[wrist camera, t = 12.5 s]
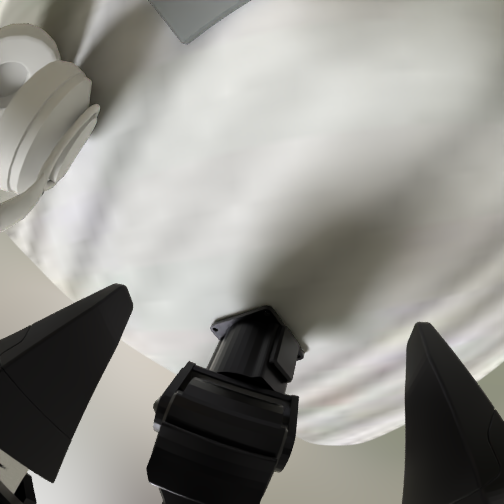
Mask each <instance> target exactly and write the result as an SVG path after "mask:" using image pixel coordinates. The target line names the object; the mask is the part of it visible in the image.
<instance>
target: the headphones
mask: <svg viewBox="0 0 504 504" xmlns="http://www.w3.org/2000/svg"><path fill="white" fill-rule="evenodd" d="M85 76H86V74H85V73H84V72H83V71H82V70H81V69H80V68H79V67H78V66H76V65H75V64H74V63H72V62H67V61H62V60H61V56H60V53H59V51H58V48H57V45H56V43H55V42H54V40H53V39H52V38H51V37H50V36H49V35H48V34H47V33H46V32H45V31H44V30H43V29H42V28H40V27H37V26H34V25H32V24H29V23H24V24H10V25H8V26H5V27H2V28H0V189H1V190H4V191H7V192H13V193H14V192H15V193H17V194H19V195H17V196H15V197H13V198H11V199H9V200H7V201H5V202H3V203H1V204H0V232H2V231H4V230H6V229H8V228H10V227H11V226H13V225H14V224H16V223H18V222H19V221H21V220H23V219H24V218H25V217H26V215H27V214H28V213H29V212H30V211H31V210H32V209H33V208H34V206H35V205H36V204H37V202H38V201H39V199H40V197H41V196H42V195H43V193H44V191H47V190H49V189H51V188H53V187H54V186H55V185H56V184H57V182H58V181H59V180H60V179H61V178H62V177H64V175H65V174H66V172H67V171H68V170H69V168H70V166H71V164H72V163H73V161H74V159H75V158H76V156H77V155H78V153H79V152H80V150H81V148H82V147H83V145H84V144H85V143H86V141H87V140H88V138H89V136H90V135H91V133H92V131H93V129H94V127H95V125H96V123H97V116H98V114H99V111H100V106H99V105H98V104H94V105H92V106H90V107H89V102H90V93H91V85H92V81H91V80H90V79H89V78H87V77H85ZM48 178H49V179H50V180H48Z"/></svg>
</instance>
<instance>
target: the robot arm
mask: <svg viewBox="0 0 504 504" xmlns="http://www.w3.org/2000/svg"><path fill="white" fill-rule="evenodd" d="M132 310H133V302H132V300H131V297H130V294H129V291H128V289H127V287H126V286H125V285H122V284H117V283H115V284H112V285H110V286H108V287H106V288H104V289H102V290H100V291H98V292H96V293H94V294H92V295H90V296H88V297H86V298H84V299H81V300H79V301H77V302H75V303H73V304H71V305H70V306H68V307H65V308H63V309H61V310H59V311H57V312H55V313H53V314H51V315H49V316H48V317H46V318H44V319H42V320H40V321H38V322H36V323H34V324H32V325H30V326H28V327H26V328H24V329H22V330H20V331H18V332H16V333H14V334H12V335H10V336H8V337H6V338H3V339H1V340H0V504H36V498H35V493H34V488H33V483H32V477H31V476H30V475H29V474H28V473H27V471H28V469H30V470H31V471H33V472H34V473H36V474H38V475H39V476H41V477H43V478H44V479H46V480H48V481H49V482H51V483H54V481H55V479H56V477H57V474H58V472H59V469H60V467H61V464H62V462H63V459H64V457H65V455H66V452H67V450H68V447H69V445H70V443H71V439H72V438H73V435H74V433H75V431H76V429H77V426H78V424H79V422H80V420H81V418H82V416H83V413H84V411H85V409H86V407H87V405H88V403H89V401H90V399H91V397H92V395H93V393H94V391H95V388H96V386H97V384H98V383H99V381H100V379H101V377H102V374H103V373H104V371H105V369H106V367H107V365H108V363H109V361H110V359H111V357H112V355H113V353H114V352H115V349H116V347H117V345H118V343H119V341H120V338H121V336H122V334H123V331H124V329H125V327H126V324H127V322H128V320H129V317H130V315H131V313H132ZM265 311H267V312H269V313H266V312H265ZM210 329H211V331H212V332H213V333H214V334H215V336H216V337H217V338H218V339H219V340H220V341H219V343H218V345H217V347H216V349H215V351H214V353H213V356H212V358H211V360H210V362H209V364H208V366H207V368H206V369H205V368H203V367H200V366H197V365H196V364H195V363H193V362H190V361H189V362H188V363H187V364H186V366H185V367H184V368H182V369H181V370H180V371H179V373H178V374H177V376H176V377H175V378H174V380H173V381H172V382H171V384H170V385H169V386H168V388H167V389H166V390H165V392H164V393H163V395H162V396H161V397H160V398H159V399H157V400H156V401H155V403H154V406H153V409H154V411H155V413H156V414H155V419H154V426H153V427H154V431H156V432H158V435H157V439H156V442H155V445H154V448H153V451H152V455H151V458H150V460H149V463H148V465H147V475H148V480H149V483H151V484H153V485H155V486H157V487H159V490H160V493H161V496H162V498H163V502H162V504H260V501H261V498H262V497H263V495H264V493H265V491H266V489H267V486H268V484H269V482H270V480H271V477H272V475H273V473H274V472H281V471H282V470H283V469H284V467H285V465H286V463H287V462H288V459H289V457H290V454H291V451H292V448H293V445H294V441H295V436H296V427H297V415H298V402H299V396H295V395H287V394H285V391H286V387H287V383H289V382H291V381H292V379H293V375H294V370H295V365H296V361H298V360H301V359H303V357H304V352H303V350H302V349H301V347H300V346H299V343H298V342H297V340H296V339H295V337H294V336H293V335H292V333H291V332H290V330H289V329H288V328H287V326H285V325H284V324H283V322H282V321H281V320H280V318H279V317H278V315H277V314H276V312H275V311H274V310H273V308H272V307H270V306H264V307H261V308H258V309H255V310H252V311H249V312H246V313H243V314H240V315H237V316H234V317H231V318H227V319H224V320H221V321H218V322H215V323H213V324H212V325H211V327H210ZM405 428H406V430H405V432H406V433H405V471H404V488H403V498H402V504H504V421H503V420H502V418H501V416H500V415H499V413H498V412H497V410H494V406H493V405H492V403H491V402H490V400H489V399H488V397H487V396H486V395H485V393H484V392H483V390H482V389H481V388H480V386H479V385H478V383H477V382H476V381H475V379H474V378H473V377H472V375H471V374H470V372H469V371H468V370H467V368H466V367H465V366H464V365H463V363H462V362H461V361H460V359H459V358H458V357H457V355H456V354H455V353H454V352H453V350H452V349H451V348H450V347H449V345H448V344H447V343H446V342H445V340H444V339H443V338H442V337H441V335H440V334H439V333H438V332H437V330H436V329H435V328H434V327H433V326H432V325H431V324H430V323H428V322H417V323H416V324H415V326H414V328H413V331H412V333H411V335H410V338H409V340H408V343H407V348H406V380H405Z"/></svg>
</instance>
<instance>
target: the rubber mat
mask: <svg viewBox="0 0 504 504" xmlns="http://www.w3.org/2000/svg"><path fill="white" fill-rule="evenodd" d="M148 1H149V2H150V3H151V4H152V6H153V7H154V8H155V9H156V11H157V12H158V13H159V14H160V16H161V17H162V18H163V19H164V21H165V22H166V23H167V25H168V26H169V27H170V28H171V30H172V31H173V32H174V34H175V35H176V36H177V38H178V39H179V40H180V42H181V43H183V44H189V43H190V42H191V41H192V40H194V39H195V38H196V37H198V36H199V35H200V34H202V33H203V32H204V31H206V30H207V29H208V28H210V27H211V26H213V25H214V24H215V23H217V22H218V21H220V20H221V19H223V18H224V17H226V16H227V15H229V14H230V13H232V12H233V11H235V10H236V9H238V8H239V7H241V6H242V5H244V4H246V3H247V2H249V1H251V0H148Z"/></svg>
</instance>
